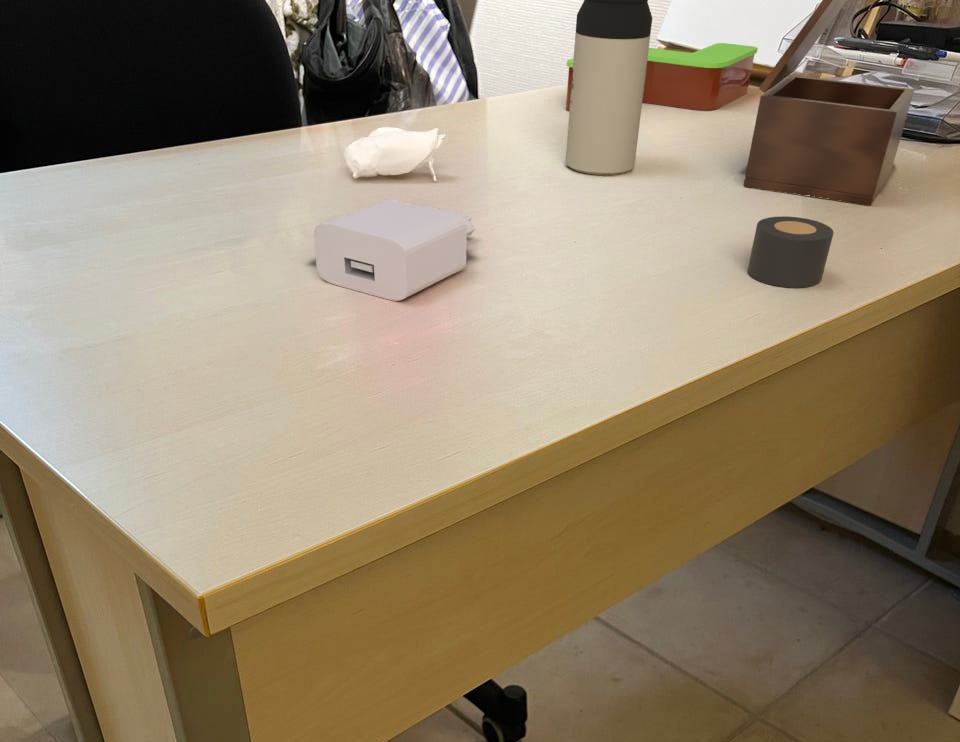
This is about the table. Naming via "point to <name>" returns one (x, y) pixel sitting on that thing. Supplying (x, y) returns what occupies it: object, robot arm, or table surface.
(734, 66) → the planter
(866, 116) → the chest
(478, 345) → the table surface
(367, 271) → the charger
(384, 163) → the bird figurine
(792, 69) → the lid
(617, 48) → the travel mug
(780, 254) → the tape
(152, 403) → the table surface
